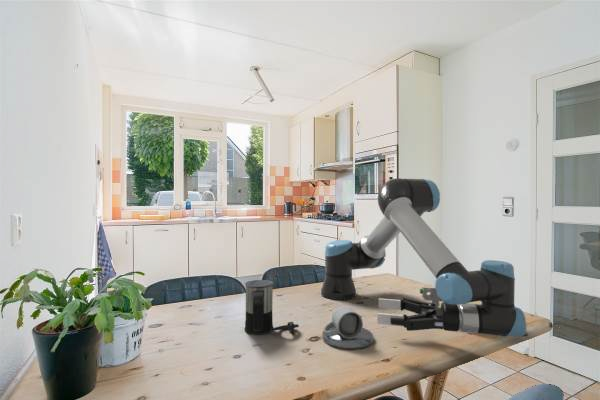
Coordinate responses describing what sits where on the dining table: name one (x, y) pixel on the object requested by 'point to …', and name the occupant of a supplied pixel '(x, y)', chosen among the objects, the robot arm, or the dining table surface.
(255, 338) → the dining table surface
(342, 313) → the ceramic mug
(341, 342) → the plate
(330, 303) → the dining table surface
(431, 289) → the mechanical component
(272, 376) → the dining table surface
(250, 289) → the milk frother
